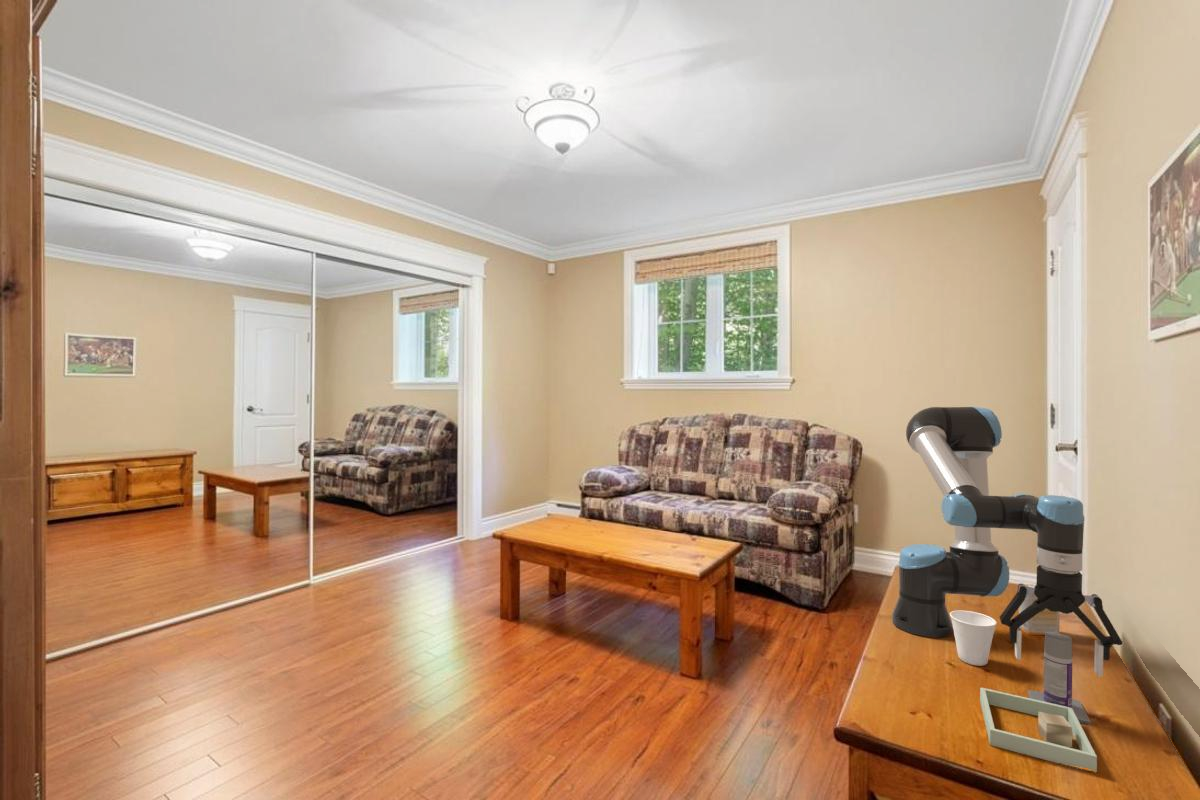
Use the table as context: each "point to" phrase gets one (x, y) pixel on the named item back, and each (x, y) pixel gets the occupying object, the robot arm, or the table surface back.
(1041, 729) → the maple block
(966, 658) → the cup
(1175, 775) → the table surface
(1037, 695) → the pad
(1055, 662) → the container
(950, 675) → the table surface
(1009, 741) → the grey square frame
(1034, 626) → the supplement box
